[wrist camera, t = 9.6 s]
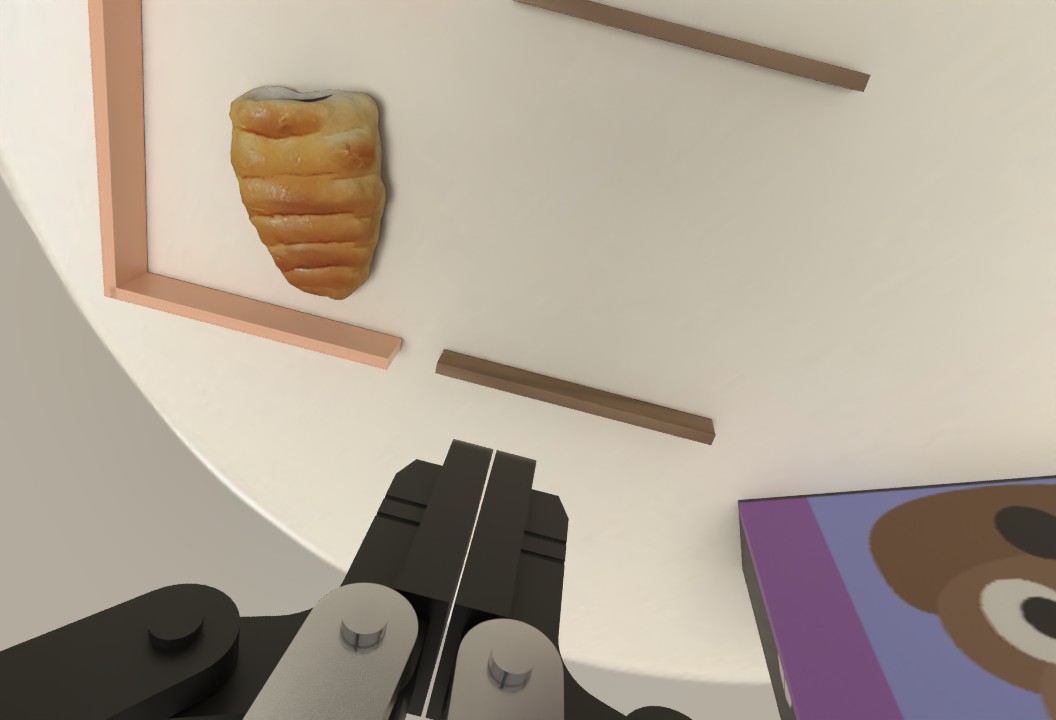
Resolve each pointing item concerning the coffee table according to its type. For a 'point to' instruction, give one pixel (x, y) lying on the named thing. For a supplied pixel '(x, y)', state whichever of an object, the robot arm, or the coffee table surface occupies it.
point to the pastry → (311, 182)
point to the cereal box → (907, 600)
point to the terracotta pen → (125, 211)
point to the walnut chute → (590, 399)
